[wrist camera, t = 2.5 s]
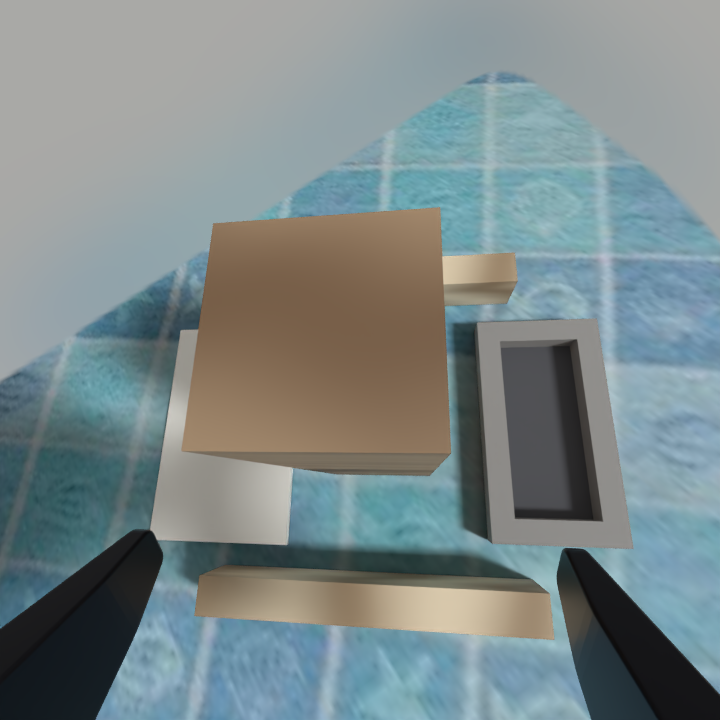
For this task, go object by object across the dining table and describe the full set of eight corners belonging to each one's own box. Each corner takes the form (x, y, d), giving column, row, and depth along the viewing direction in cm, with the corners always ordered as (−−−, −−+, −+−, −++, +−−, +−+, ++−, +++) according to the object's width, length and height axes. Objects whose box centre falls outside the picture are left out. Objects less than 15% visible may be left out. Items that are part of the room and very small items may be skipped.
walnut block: (429, 475, 20) (450, 453, 6) (336, 474, 20) (181, 451, 7) (426, 383, 21) (440, 207, 8) (339, 385, 22) (213, 223, 8)
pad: (301, 327, 23) (300, 325, 23) (288, 544, 20) (286, 545, 19) (183, 332, 24) (180, 330, 23) (152, 538, 21) (148, 539, 20)
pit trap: (587, 327, 21) (596, 318, 20) (619, 544, 18) (633, 549, 17) (474, 331, 21) (477, 322, 20) (487, 539, 19) (492, 543, 17)
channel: (504, 277, 22) (514, 252, 20) (536, 619, 17) (554, 639, 15) (253, 289, 24) (235, 267, 22) (222, 599, 19) (194, 616, 17)
